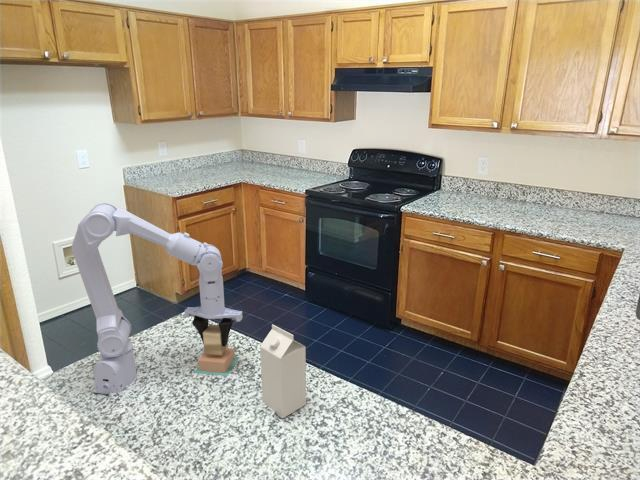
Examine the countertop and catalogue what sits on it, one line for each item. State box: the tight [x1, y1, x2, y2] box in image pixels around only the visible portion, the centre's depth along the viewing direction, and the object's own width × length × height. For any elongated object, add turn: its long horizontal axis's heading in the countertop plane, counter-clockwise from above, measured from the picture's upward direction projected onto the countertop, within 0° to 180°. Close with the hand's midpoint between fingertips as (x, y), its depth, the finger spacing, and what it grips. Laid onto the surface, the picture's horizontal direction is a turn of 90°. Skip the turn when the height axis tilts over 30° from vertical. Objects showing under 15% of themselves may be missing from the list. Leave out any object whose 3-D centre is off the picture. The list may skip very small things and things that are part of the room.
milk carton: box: [259, 324, 307, 419], centre depth 100 cm, size 7×7×19 cm
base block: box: [197, 347, 236, 373], centre depth 117 cm, size 7×7×3 cm
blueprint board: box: [193, 356, 240, 377], centre depth 118 cm, size 14×12×1 cm
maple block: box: [203, 323, 229, 355], centre depth 116 cm, size 4×4×6 cm
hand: (215, 343), depth 116 cm, fingers closed on maple block, 4 cm apart
